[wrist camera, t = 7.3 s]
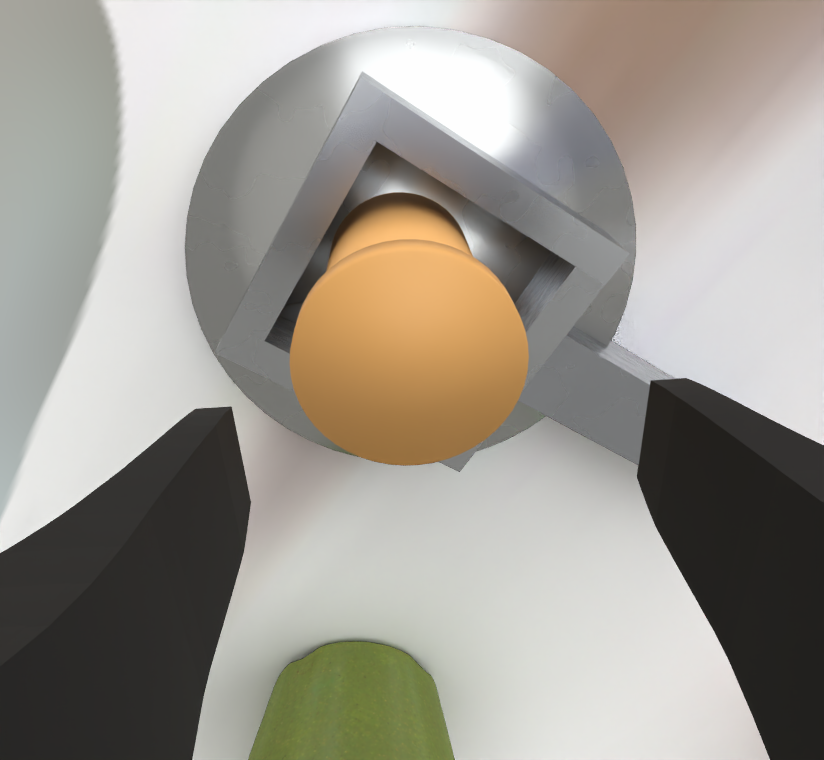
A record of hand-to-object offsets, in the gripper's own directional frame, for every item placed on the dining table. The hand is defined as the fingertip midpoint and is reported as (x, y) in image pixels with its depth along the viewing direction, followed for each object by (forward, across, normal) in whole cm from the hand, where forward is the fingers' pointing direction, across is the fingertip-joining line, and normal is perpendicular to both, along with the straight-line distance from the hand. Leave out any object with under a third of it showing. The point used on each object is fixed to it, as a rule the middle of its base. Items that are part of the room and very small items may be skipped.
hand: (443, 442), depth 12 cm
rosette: (+10, -3, +2) cm, 10 cm away
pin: (+9, 0, 0) cm, 9 cm away
